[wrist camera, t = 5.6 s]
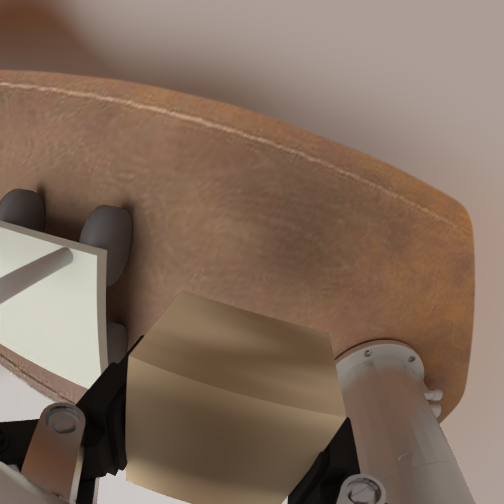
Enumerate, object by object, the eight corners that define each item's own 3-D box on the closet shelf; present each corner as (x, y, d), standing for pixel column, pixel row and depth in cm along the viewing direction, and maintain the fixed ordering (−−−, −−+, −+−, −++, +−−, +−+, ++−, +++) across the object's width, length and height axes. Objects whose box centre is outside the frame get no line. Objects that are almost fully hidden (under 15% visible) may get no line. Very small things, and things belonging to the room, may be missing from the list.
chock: (328, 333, 10) (346, 417, 6) (273, 444, 11) (266, 520, 8) (182, 290, 10) (128, 355, 6) (160, 411, 12) (126, 480, 8)
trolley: (146, 205, 28) (-74, 300, 6) (136, 365, 33) (39, 517, 11) (30, 184, 28) (-138, 228, 7) (36, 325, 34) (-74, 420, 12)
